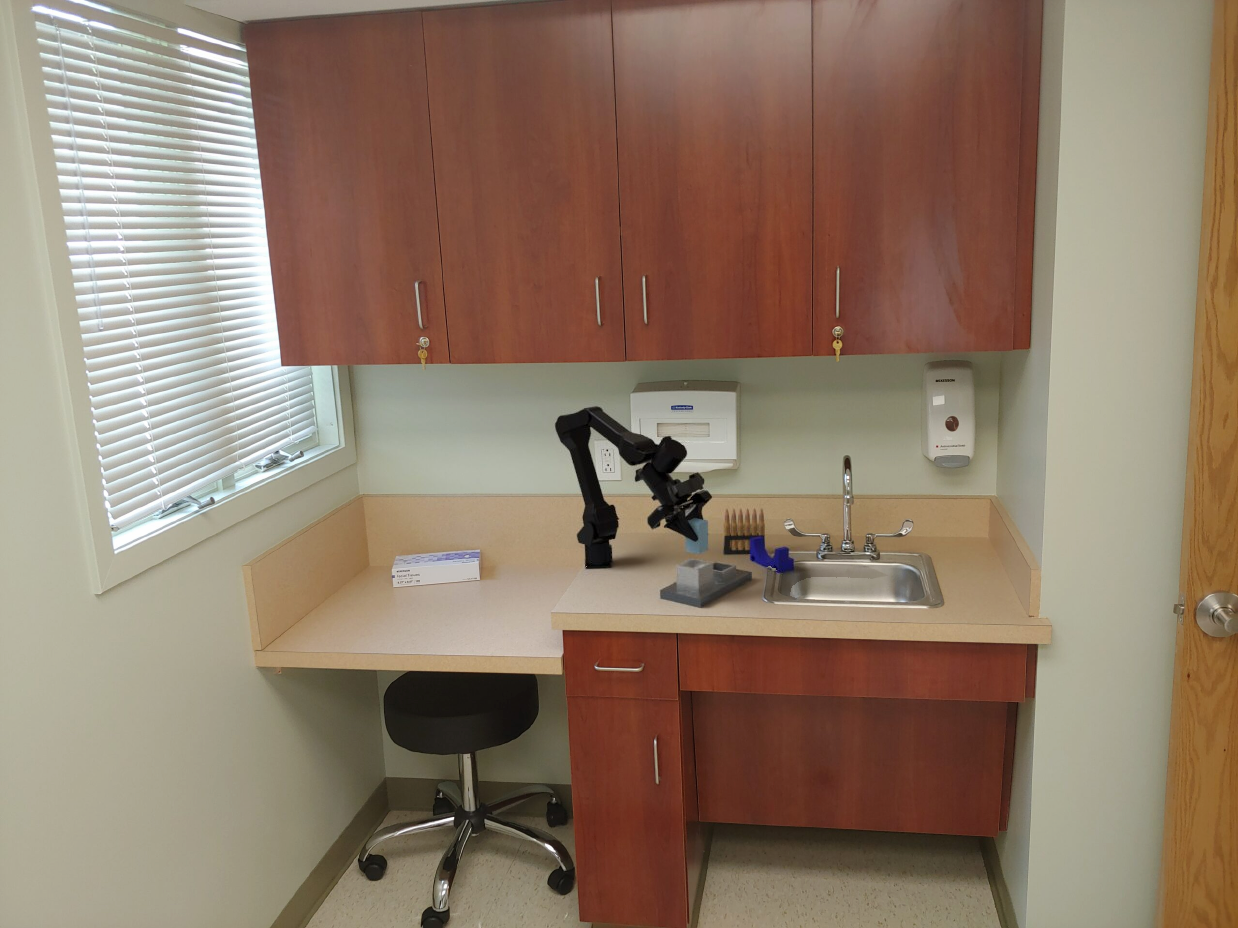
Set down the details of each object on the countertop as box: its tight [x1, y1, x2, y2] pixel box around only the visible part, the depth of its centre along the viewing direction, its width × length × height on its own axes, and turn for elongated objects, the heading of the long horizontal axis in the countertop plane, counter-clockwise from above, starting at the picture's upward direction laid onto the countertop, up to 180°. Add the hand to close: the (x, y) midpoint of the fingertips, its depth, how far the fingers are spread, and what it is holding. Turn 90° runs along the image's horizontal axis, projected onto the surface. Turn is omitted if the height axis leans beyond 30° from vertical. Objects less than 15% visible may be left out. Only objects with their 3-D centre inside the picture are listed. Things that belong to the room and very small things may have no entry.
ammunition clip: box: [722, 507, 766, 556], centre depth 252 cm, size 11×2×12 cm, turn 86°
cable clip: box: [749, 536, 795, 574], centre depth 243 cm, size 12×4×6 cm, turn 27°
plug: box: [685, 518, 709, 555], centre depth 222 cm, size 4×4×7 cm
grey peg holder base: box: [659, 557, 753, 609], centre depth 227 cm, size 22×11×8 cm, turn 142°
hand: (702, 538), depth 221 cm, fingers closed on plug, 4 cm apart
